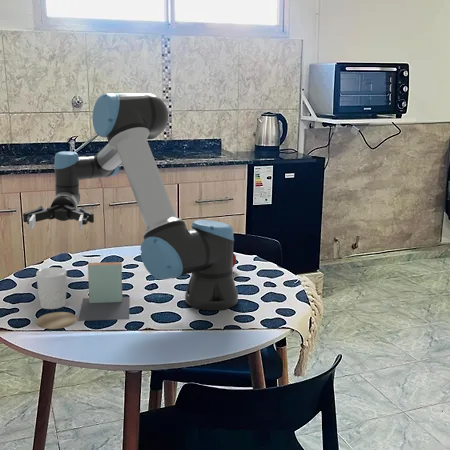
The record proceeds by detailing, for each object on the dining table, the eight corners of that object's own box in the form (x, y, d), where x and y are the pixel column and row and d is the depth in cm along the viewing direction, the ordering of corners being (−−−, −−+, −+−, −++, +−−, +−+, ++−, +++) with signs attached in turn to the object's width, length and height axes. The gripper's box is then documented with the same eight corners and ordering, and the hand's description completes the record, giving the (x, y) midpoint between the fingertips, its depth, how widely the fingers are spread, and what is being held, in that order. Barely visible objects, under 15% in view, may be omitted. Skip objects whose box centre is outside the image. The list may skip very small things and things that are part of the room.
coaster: (85, 320, 153) (85, 317, 153) (55, 334, 145) (55, 331, 145) (58, 311, 158) (57, 309, 158) (28, 324, 150) (28, 321, 150)
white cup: (63, 312, 158) (61, 277, 156) (34, 311, 158) (32, 276, 156) (71, 301, 166) (69, 267, 163) (43, 300, 166) (41, 266, 163)
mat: (83, 300, 167) (83, 298, 167) (129, 298, 169) (129, 296, 168) (78, 322, 152) (78, 320, 152) (129, 321, 154) (129, 318, 154)
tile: (89, 300, 166) (88, 262, 163) (122, 298, 167) (121, 262, 164) (89, 303, 163) (87, 265, 160) (122, 302, 164) (121, 264, 162)
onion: (216, 268, 196) (216, 245, 194) (232, 267, 198) (233, 244, 196) (221, 274, 191) (222, 250, 189) (238, 272, 193) (239, 249, 191)
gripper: (104, 218, 190) (100, 238, 169) (23, 217, 186) (10, 237, 166) (104, 195, 187) (100, 212, 167) (22, 194, 184) (8, 212, 164)
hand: (55, 225), depth 166 cm, fingers open, 13 cm apart
